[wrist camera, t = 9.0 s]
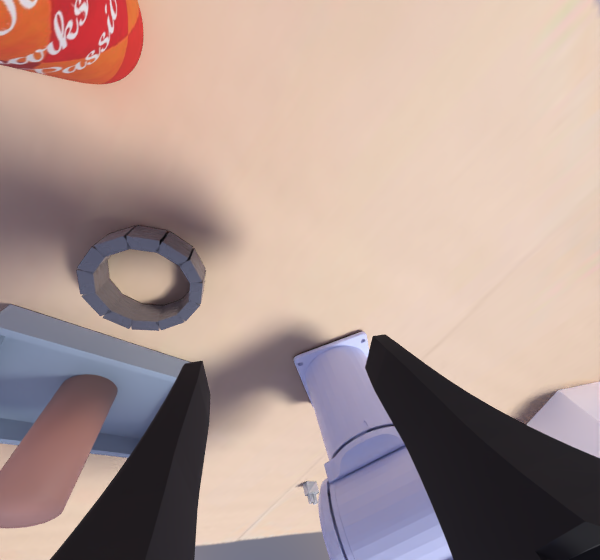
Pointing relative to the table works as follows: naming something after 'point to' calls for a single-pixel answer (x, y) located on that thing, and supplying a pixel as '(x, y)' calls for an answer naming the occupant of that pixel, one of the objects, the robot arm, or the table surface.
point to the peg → (54, 452)
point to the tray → (71, 362)
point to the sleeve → (125, 309)
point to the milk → (572, 417)
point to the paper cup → (72, 38)
